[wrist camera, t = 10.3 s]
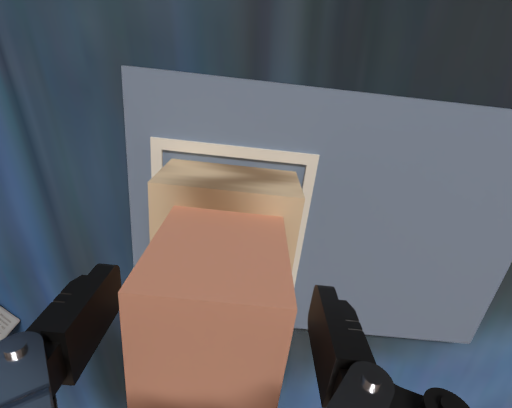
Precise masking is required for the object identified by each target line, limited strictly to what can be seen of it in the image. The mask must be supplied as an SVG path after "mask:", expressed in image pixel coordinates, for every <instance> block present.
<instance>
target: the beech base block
mask: <svg viewBox="0 0 512 408" xmlns="http://www.w3.org/2000/svg"><path fill="white" fill-rule="evenodd" d="M304 203H305V196H304V193H303V191H302V188H301V185H300V182H299V179H298V176H297V173H296V172H295V171H286V170H276V169H267V168H257V167H248V166H238V165H229V164H219V163H210V162H200V161H191V160H181V159H171V160H170V161H169V162H168V163H167V164H166V165H165V166H164V167H162V168H161V169H160V170H159V171H158V172H157V173H156V174H155V175H154V176H153V177H152V178H151V179H150V180H149V181H148V207H149V235H150V242H151V240H152V239H153V237H154V235H155V234H156V232H157V231H158V229H159V228H160V226H161V225H162V223H163V221H164V220H165V218H166V217H167V215H168V214H169V212H170V211H171V209H172V207H173V206H174V205H175V206H185V207H194V208H204V209H213V210H223V211H232V212H242V213H251V214H261V215H271V216H280V217H283V219H284V225H285V232H286V238H287V245H288V251H289V258H290V264H291V271H292V269H293V263H294V258H295V252H296V247H297V241H298V236H299V230H300V225H301V219H302V214H303V208H304Z"/></svg>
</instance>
